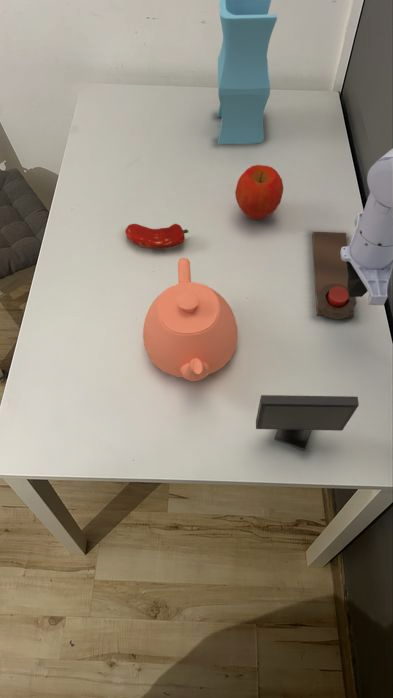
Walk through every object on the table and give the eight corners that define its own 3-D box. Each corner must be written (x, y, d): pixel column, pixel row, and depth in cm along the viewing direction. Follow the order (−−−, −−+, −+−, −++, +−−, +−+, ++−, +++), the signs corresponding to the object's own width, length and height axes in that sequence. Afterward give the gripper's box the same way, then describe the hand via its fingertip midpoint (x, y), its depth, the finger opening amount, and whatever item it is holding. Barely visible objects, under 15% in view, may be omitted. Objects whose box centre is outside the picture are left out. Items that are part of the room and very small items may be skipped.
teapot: (247, 403, 77) (253, 366, 66) (149, 414, 76) (139, 379, 66) (227, 288, 87) (230, 240, 77) (142, 297, 87) (132, 250, 76)
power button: (347, 308, 82) (349, 302, 81) (327, 307, 82) (329, 301, 81) (345, 292, 84) (347, 286, 82) (326, 291, 84) (328, 285, 83)
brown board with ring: (353, 322, 83) (357, 314, 81) (316, 321, 84) (319, 312, 81) (345, 235, 93) (348, 226, 90) (311, 234, 93) (314, 225, 91)
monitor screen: (342, 431, 69) (359, 405, 62) (255, 429, 70) (261, 404, 62) (341, 422, 70) (357, 396, 62) (255, 421, 70) (261, 394, 63)
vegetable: (187, 215, 91) (124, 220, 93) (184, 228, 87) (118, 234, 89) (191, 238, 94) (129, 242, 96) (188, 251, 90) (124, 256, 92)
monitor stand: (304, 451, 73) (312, 435, 67) (274, 439, 74) (279, 423, 68) (313, 423, 75) (321, 406, 69) (283, 412, 76) (289, 394, 70)
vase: (264, 143, 106) (277, 17, 84) (217, 144, 106) (219, 18, 84) (261, 113, 111) (274, -13, 89) (217, 114, 111) (218, -12, 89)
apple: (243, 238, 93) (246, 194, 84) (227, 207, 97) (228, 162, 88) (285, 226, 94) (294, 181, 85) (268, 196, 98) (274, 150, 89)
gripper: (343, 188, 67) (323, 255, 78) (356, 274, 59) (333, 334, 71) (396, 188, 66) (369, 255, 78) (416, 275, 59) (383, 334, 71)
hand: (355, 293), depth 75 cm, fingers closed
